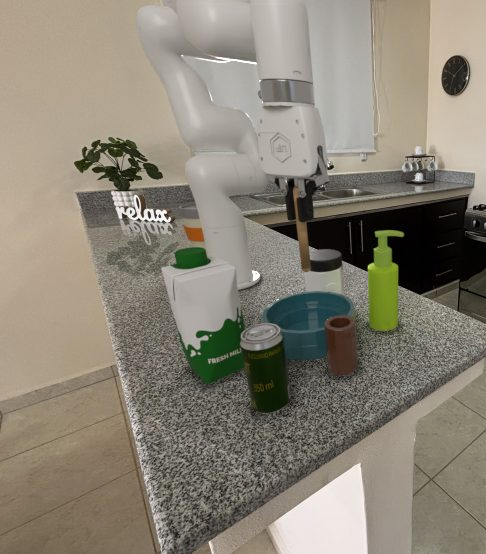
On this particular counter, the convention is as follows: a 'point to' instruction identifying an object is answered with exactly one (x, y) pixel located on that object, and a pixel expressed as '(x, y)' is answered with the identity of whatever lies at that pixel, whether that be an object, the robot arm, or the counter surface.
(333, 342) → the utensil cup
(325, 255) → the jar
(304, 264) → the stick
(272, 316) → the bowl
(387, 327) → the soap dispenser
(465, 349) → the counter surface
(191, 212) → the reusable coffee cup
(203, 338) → the milk carton
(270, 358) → the beer can
